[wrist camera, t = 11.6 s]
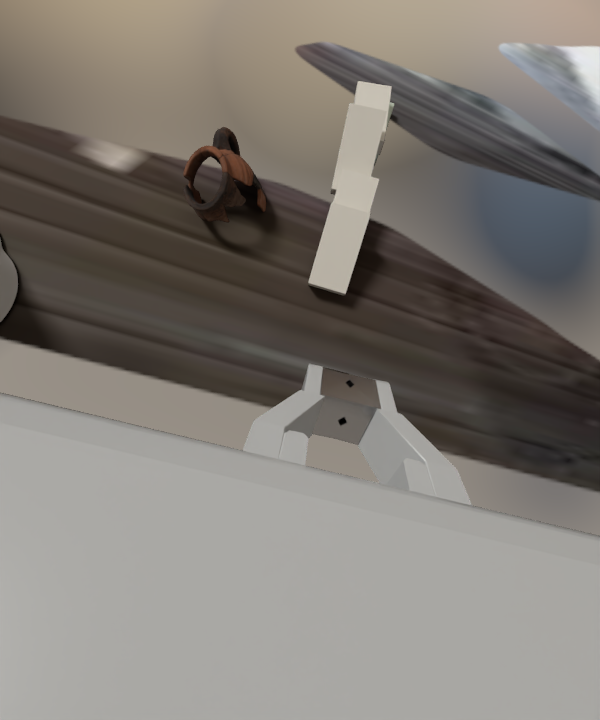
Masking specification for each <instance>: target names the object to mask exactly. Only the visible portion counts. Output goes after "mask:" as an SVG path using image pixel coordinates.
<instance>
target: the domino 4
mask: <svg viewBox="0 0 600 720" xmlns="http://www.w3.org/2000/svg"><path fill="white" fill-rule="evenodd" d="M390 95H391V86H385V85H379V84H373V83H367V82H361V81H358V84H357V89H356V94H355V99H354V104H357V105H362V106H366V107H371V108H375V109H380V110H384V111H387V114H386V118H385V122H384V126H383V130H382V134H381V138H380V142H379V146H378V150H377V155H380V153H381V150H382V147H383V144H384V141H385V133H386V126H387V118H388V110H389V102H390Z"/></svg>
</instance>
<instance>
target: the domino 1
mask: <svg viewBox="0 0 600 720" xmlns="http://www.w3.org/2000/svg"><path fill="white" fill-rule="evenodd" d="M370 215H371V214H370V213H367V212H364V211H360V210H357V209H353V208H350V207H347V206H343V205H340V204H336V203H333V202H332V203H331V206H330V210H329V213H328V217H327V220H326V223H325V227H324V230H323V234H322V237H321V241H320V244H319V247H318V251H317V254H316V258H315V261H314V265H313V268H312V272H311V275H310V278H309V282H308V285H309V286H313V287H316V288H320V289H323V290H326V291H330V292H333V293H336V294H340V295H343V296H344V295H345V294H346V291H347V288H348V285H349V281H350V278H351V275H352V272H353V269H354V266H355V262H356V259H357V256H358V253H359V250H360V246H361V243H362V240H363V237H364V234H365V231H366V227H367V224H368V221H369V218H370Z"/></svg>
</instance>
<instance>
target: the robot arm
mask: <svg viewBox="0 0 600 720" xmlns="http://www.w3.org/2000/svg"><path fill="white" fill-rule="evenodd" d="M17 288H18V277H17V272H16V268H15V266H14V264H13V262H12V261H11V259H10V258H9V257H8V255H7V254H6V253H5V252H4V250H3V248H2V245H1V239H0V322H1V321H2V320H3V319H4V317H5V316H6V315H7V313H8V312H9V310H10V309H11V307H12V305H13V303H14V300H15V297H16V294H17ZM312 434H315V435H319V436H324V437H329V438H334V439H338V440H342V441H345V442H349V443H353V444H357V445H358V447H359V448H360V450H361V452H362V454H363V455H364V457H365V459H366V460H367V462H368V464H369V466H370V467H371V469H372V470H373V472H374V474H375V476H376V477H377V479H378V481H379V483H376V482H372V481H368V480H364V479H360V478H355V477H351V476H347V475H342V474H339V473H334V472H330V471H326V470H322V469H317V468H314V467H309V466H305V462H306V454H307V445H308V438H310V436H311V435H312ZM0 720H600V536H598V535H594V534H590V533H585V532H582V531H577V530H573V529H569V528H564V527H560V526H556V525H552V524H548V523H544V522H540V521H535V520H531V519H527V518H522V517H518V516H514V515H510V514H506V513H502V512H497V511H493V510H489V509H485V508H481V507H476V506H472V504H471V502H470V499H469V497H468V495H467V492H466V490H465V488H464V485H463V483H462V480H461V478H460V475H459V473H458V471H457V469H456V468H455V467H454V466H453V465H452V464H451V463H450V462H449V461H448V460H447V459H446V458H445V457H444V456H443V455H442V454H441V453H440V452H439V451H438V450H437V449H436V448H435V447H434V446H433V445H432V444H431V443H430V442H429V441H428V440H427V439H426V438H425V437H424V436H423V435H422V434H421V433H420V432H419V431H418V430H417V429H416V428H415V427H414V426H413V425H412V424H411V423H410V422H409V421H408V420H407V419H406V418H405V417H404V416H403V415H402V414H398V413H397V410H396V406H395V402H394V399H393V395H392V391H391V388H390V384H389V383H388V382H384V381H379V380H373V379H369V378H364V377H360V376H355V375H351V374H348V373H344V372H340V371H337V370H333V369H329V368H325V367H322V366H317V365H313V364H309V366H308V369H307V372H306V376H305V380H304V384H303V387H302V390H300V391H298V392H296V393H295V394H293V395H292V396H290V397H289V398H287V399H286V400H284V401H283V402H281V403H280V404H278V405H277V406H275V407H274V408H272V409H270V410H269V411H267V412H266V413H264V414H263V415H262V416H260V417H258V418H257V419H255V420H254V422H253V424H252V427H251V430H250V433H249V435H248V437H247V440H246V443H245V445H244V448H243V450H238V449H234V448H230V447H226V446H221V445H217V444H213V443H209V442H204V441H200V440H196V439H192V438H188V437H184V436H179V435H175V434H171V433H167V432H163V431H158V430H154V429H150V428H146V427H142V426H137V425H133V424H129V423H125V422H121V421H117V420H113V419H108V418H104V417H100V416H96V415H92V414H87V413H83V412H79V411H75V410H71V409H67V408H62V407H58V406H54V405H50V404H46V403H41V402H37V401H33V400H29V399H25V398H20V397H16V396H12V395H8V394H4V393H0Z"/></svg>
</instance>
